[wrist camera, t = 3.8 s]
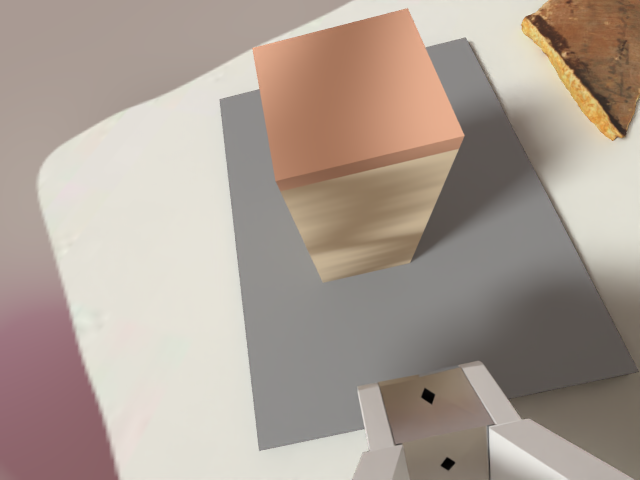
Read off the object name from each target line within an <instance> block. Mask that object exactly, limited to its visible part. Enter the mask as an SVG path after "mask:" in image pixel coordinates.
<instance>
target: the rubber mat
mask: <svg viewBox="0 0 640 480" xmlns="http://www.w3.org/2000/svg"><path fill="white" fill-rule="evenodd" d="M426 50H427V53H428V55H429V57H430V59H431V61H432V64H433V66H434V68H435V70H436V73H437V75H438V77H439V79H440V82H441V84H442V86H443V88H444V91H445V93H446V95H447V97H448V100H449V102H450V104H451V106H452V109H453V111H454V113H455V115H456V117H457V120H458V122H459V124H460V126H461V129H462V131H463V133H464V135H465V136H464V138H463V141H462V143H461V145H460V148H459V150H458V152H457V155H456V157H455V159H454V162H453V164H452V166H451V169H450V171H449V173H448V176H447V178H446V180H445V183H444V185H443V187H442V190H441V192H440V194H439V197H438V199H437V201H436V204H435V206H434V208H433V211H432V213H431V215H430V218H429V220H428V222H427V225H426V227H425V229H424V232H423V234H422V236H421V239H420V241H419V243H418V246H417V248H416V250H415V253H414V255H413V257H412V260H411V262H410V263H408V264H404V265H399V266H395V267H390V268H386V269H382V270H377V271H373V272H368V273H364V274H359V275H355V276H351V277H346V278H342V279H337V280H333V281H329V282H324V283H323V282H322V280H321V278H320V275H319V273H318V271H317V269H316V267H315V265H314V263H313V260H312V258H311V256H310V254H309V252H308V250H307V248H306V245H305V243H304V241H303V239H302V237H301V235H300V233H299V230H298V228H297V226H296V224H295V222H294V220H293V218H292V215H291V213H290V211H289V209H288V207H287V205H286V203H285V200H284V198H283V196H282V194H281V192H280V190H279V188H278V185H277V183H276V181H275V175H274V170H273V164H272V158H271V152H270V147H269V141H268V135H267V129H266V123H265V118H264V112H263V106H262V100H261V95H260V89H259V90H255V91H251V92H247V93H243V94H239V95H235V96H231V97H227V98H223V99H220V108H221V117H222V126H223V134H224V143H225V152H226V161H227V170H228V179H229V188H230V197H231V206H232V214H233V223H234V232H235V241H236V250H237V259H238V268H239V277H240V286H241V294H242V303H243V312H244V321H245V330H246V339H247V348H248V357H249V365H250V374H251V383H252V392H253V401H254V410H255V419H256V428H257V437H258V445H259V451H261V450H266V449H270V448H275V447H280V446H285V445H290V444H295V443H299V442H304V441H309V440H314V439H319V438H323V437H328V436H333V435H338V434H343V433H347V432H352V431H357V430H362V429H365V427H364V422H363V417H362V412H361V407H360V402H359V397H358V389H357V386H362V385H367V384H372V383H378V382H381V381H386V380H392V379H397V378H402V377H408V376H413V375H417V374H420V373H425V372H429V371H434V370H438V369H443V368H447V367H451V366H456V365H457V366H458V365H461V364H466V363H470V362H475V361H480V362H482V363H483V364H484V365H485V367H486V368H487V370H488V371H489V373H490V374H491V375H492V377H493V378H494V380H495V381H496V383H497V384H498V385H499V387H500V388H501V390H502V391H503V393H504V394H505V396H506V397H507V398H508V399H511V398H516V397H520V396H525V395H530V394H535V393H540V392H544V391H549V390H554V389H559V388H564V387H568V386H573V385H578V384H583V383H588V382H592V381H597V380H602V379H607V378H612V377H616V376H621V375H626V374H631V373H636V372H639V371H638V369H637V367H636V365H635V363H634V361H633V359H632V357H631V355H630V353H629V351H628V350H627V348H626V346H625V344H624V342H623V340H622V338H621V336H620V334H619V332H618V330H617V328H616V326H615V324H614V323H613V321H612V319H611V317H610V315H609V313H608V311H607V309H606V307H605V305H604V303H603V301H602V299H601V297H600V296H599V294H598V292H597V290H596V288H595V286H594V284H593V282H592V280H591V278H590V276H589V274H588V272H587V270H586V269H585V267H584V265H583V263H582V261H581V259H580V257H579V255H578V253H577V251H576V249H575V247H574V245H573V243H572V242H571V240H570V238H569V236H568V234H567V232H566V230H565V228H564V226H563V224H562V222H561V220H560V218H559V216H558V215H557V213H556V211H555V209H554V207H553V205H552V203H551V201H550V199H549V197H548V195H547V193H546V191H545V189H544V188H543V186H542V184H541V182H540V180H539V178H538V176H537V174H536V172H535V170H534V168H533V166H532V164H531V162H530V161H529V159H528V157H527V155H526V153H525V151H524V149H523V147H522V145H521V143H520V141H519V139H518V137H517V135H516V134H515V132H514V130H513V128H512V126H511V124H510V122H509V120H508V118H507V116H506V114H505V112H504V110H503V108H502V107H501V105H500V103H499V101H498V99H497V97H496V95H495V93H494V91H493V89H492V87H491V85H490V83H489V81H488V80H487V78H486V76H485V74H484V72H483V70H482V68H481V66H480V64H479V62H478V60H477V58H476V56H475V54H474V53H473V51H472V49H471V47H470V45H469V43H468V41H467V39H466V38H462V39H458V40H454V41H450V42H446V43H442V44H438V45H434V46H430V47H426Z"/></svg>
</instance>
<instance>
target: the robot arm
mask: <svg viewBox="0 0 640 480" xmlns="http://www.w3.org/2000/svg"><path fill="white" fill-rule="evenodd" d="M357 389H358V397H359V402H360V407H361V412H362V417H363V422H364V427H365V432H366V438H367V443H368V448H369V451H367V452H363V453H362V455H361V458H360V460H359V463H358V465H357V468H356V470H355V473H354V475H353V478H352V480H635V479H633V478H631V477H630V476H628V475H626V474H624V473H623V472H621V471H619V470H618V469H616V468H614V467H612V466H611V465H609V464H607V463H605V462H604V461H602V460H600V459H599V458H597V457H595V456H593V455H592V454H590V453H588V452H587V451H585V450H583V449H581V448H580V447H578V446H576V445H574V444H573V443H571V442H569V441H568V440H566V439H564V438H562V437H561V436H559V435H557V434H555V433H554V432H552V431H550V430H549V429H547V428H545V427H543V426H542V425H540V424H538V423H537V422H535V421H533V420H531V419H530V418H528V419H521V417H520V416H519V414H518V413H517V411H516V410H515V408H514V407H513V406H512V404H511V403H510V401H509V400H508V398H507V397H506V396H505V394H504V393H503V391H502V390H501V388H500V387H499V385H498V384H497V383H496V381H495V380H494V378H493V377H492V375H491V374H490V373H489V371H488V370H487V368H486V367H485V365H484V364H483V363H482V362H480V361H475V362H470V363H466V364H461V365H458V366H457V365H456V366H451V367H447V368H443V369H438V370H434V371H429V372H425V373H420V374H417V375H413V376H408V377H402V378H397V379H392V380H386V381H381V382H378V383H372V384H367V385H362V386H357Z"/></svg>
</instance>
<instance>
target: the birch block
mask: <svg viewBox="0 0 640 480" xmlns="http://www.w3.org/2000/svg"><path fill="white" fill-rule="evenodd" d="M252 49H253V54H254V60H255V66H256V72H257V77H258V83H259V89H260V95H261V100H262V106H263V112H264V118H265V123H266V129H267V135H268V141H269V147H270V152H271V158H272V164H273V170H274V175H275V181H276V183H277V185H278V188H279V190H280V192H281V194H282V196H283V198H284V200H285V203H286V205H287V207H288V209H289V211H290V213H291V215H292V218H293V220H294V222H295V224H296V226H297V228H298V230H299V233H300V235H301V237H302V239H303V241H304V243H305V245H306V248H307V250H308V252H309V254H310V256H311V258H312V260H313V263H314V265H315V267H316V269H317V271H318V273H319V275H320V278H321V280H322V282H323V283H324V282H329V281H333V280H337V279H342V278H346V277H351V276H355V275H359V274H364V273H368V272H373V271H377V270H382V269H386V268H390V267H395V266H399V265H404V264H408V263H410V262H411V260H412V257H413V255H414V253H415V250H416V248H417V246H418V243H419V241H420V239H421V236H422V234H423V232H424V229H425V227H426V225H427V222H428V220H429V218H430V215H431V213H432V211H433V208H434V206H435V204H436V201H437V199H438V197H439V194H440V192H441V190H442V187H443V185H444V183H445V180H446V178H447V176H448V173H449V171H450V169H451V166H452V164H453V162H454V159H455V157H456V155H457V152H458V150H459V148H460V145H461V143H462V141H463V138H464V136H465V135H464V133H463V131H462V129H461V126H460V124H459V122H458V120H457V117H456V115H455V113H454V111H453V109H452V106H451V104H450V102H449V100H448V97H447V95H446V93H445V91H444V88H443V86H442V84H441V82H440V79H439V77H438V75H437V73H436V70H435V68H434V66H433V64H432V61H431V59H430V57H429V55H428V53H427V50H426V48H425V46H424V44H423V41H422V39H421V37H420V35H419V32H418V30H417V28H416V26H415V23H414V21H413V19H412V17H411V14H410V12H409V10H408V8H407V9H403V10H399V11H395V12H391V13H387V14H383V15H380V16H376V17H372V18H368V19H364V20H360V21H356V22H352V23H348V24H344V25H341V26H337V27H333V28H329V29H325V30H321V31H317V32H313V33H309V34H305V35H302V36H298V37H294V38H290V39H286V40H282V41H278V42H274V43H270V44H266V45H263V46H259V47H255V48H252Z"/></svg>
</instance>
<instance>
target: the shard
mask: <svg viewBox="0 0 640 480" xmlns="http://www.w3.org/2000/svg"><path fill="white" fill-rule="evenodd" d="M521 26H522V31H523V33H524V34H525V35H526V36H528V37H529V38H531V39H532V40H533V41H534V43H536V44H537V45H538V46H539V47H540V48H541V49H542V51H543V52H544V53H545V54H547V56H548V58H549V60H550V62H551V64H552V65H553V67H554V68H555V69H556V71H557V73H558V75H559V78H560V79H561V80H562V82H563V83H564V85H565V86H566V88H567V89H568V90H569V92H570V93H571V96H572V97H573V99H574V100H575V101H576V102H577V103H578V106H579V107H580V108H581V110H582V112H583V113H584V114H585V115H586V116H587V117H588V118H589V120H590V121H591V122H593V123H594V124H595V125H596V126H597V128H598V129H599V130H600V132H602V133H603V134H604V135H605V136H606V137H608V138H609V139H611V140H612V141H614V140H615V139H616V138H617V137H620V138H623V137H625V135H626V131H627V129H628V125H629V123H630V121H631V119H632V117H633V115H634V112H635V108H636V102H637V100H638V99H639V96H640V0H548V1H547V2H546V3H545V4H544V5H543V6H542V7H541V8H540V9H539V10H538V11H537V12H536V13H533V14H531V15H528V16H526V17H525V18H524V20H523V22H522V24H521Z"/></svg>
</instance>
